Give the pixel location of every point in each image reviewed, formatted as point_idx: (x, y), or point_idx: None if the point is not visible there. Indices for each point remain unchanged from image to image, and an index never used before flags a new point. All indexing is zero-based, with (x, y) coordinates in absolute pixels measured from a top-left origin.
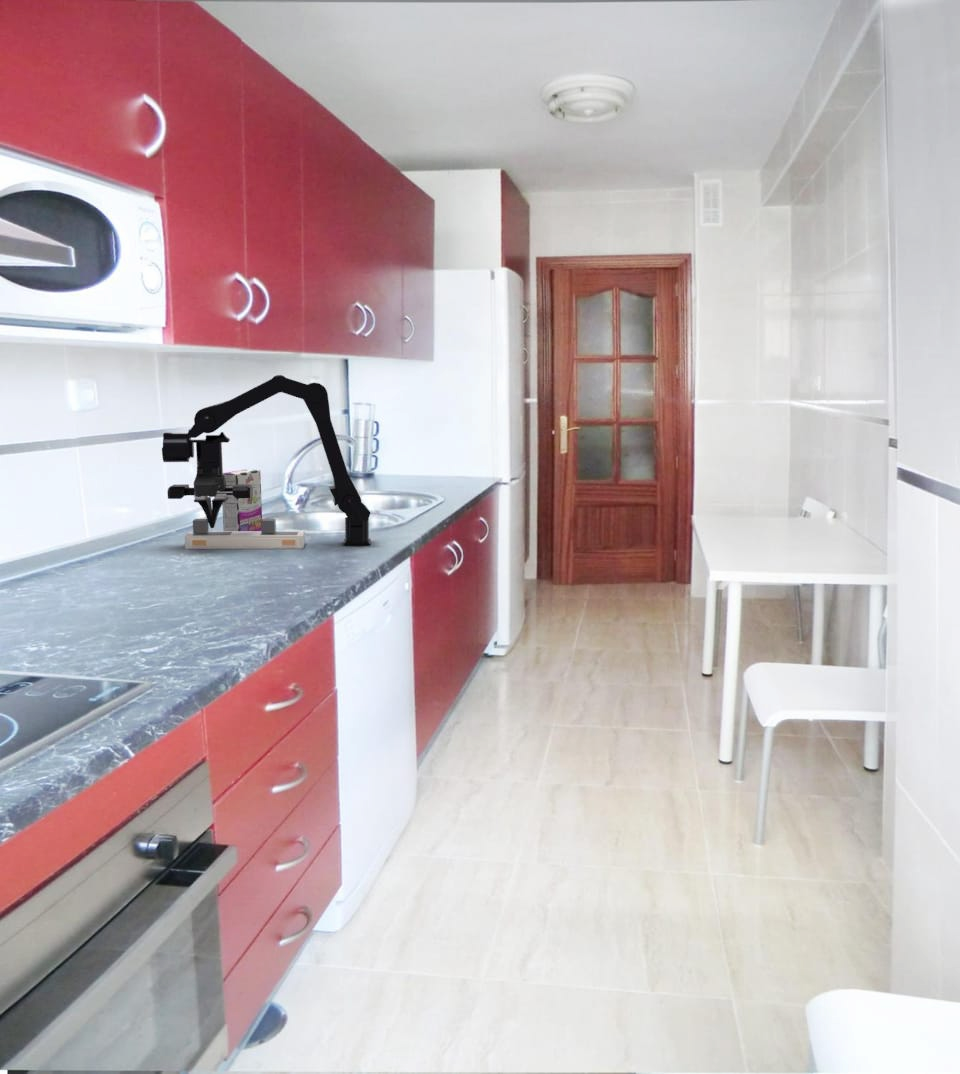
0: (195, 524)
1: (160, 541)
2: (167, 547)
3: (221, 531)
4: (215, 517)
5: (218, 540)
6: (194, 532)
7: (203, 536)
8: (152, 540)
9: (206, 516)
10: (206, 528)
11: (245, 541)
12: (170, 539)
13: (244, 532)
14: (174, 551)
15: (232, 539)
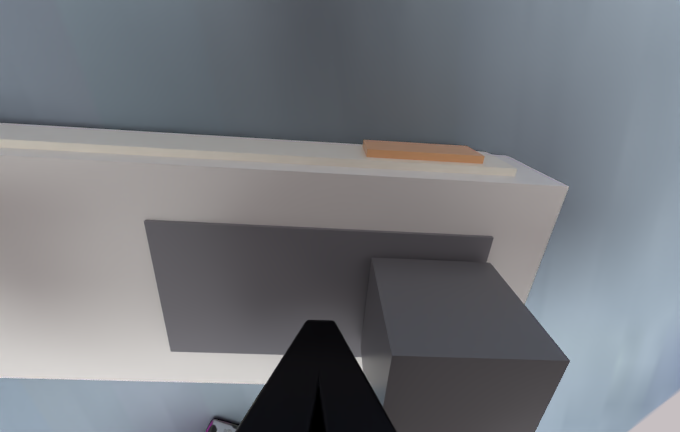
0: (508, 322)
1: (609, 383)
2: (612, 219)
3: (267, 376)
4: (250, 415)
5: (251, 149)
6: (481, 267)
7: (391, 176)
8: (641, 405)
9: (392, 429)
10: (374, 302)
11: (3, 131)
12: (552, 422)
13: (65, 332)
14: (597, 50)
15: (114, 142)
